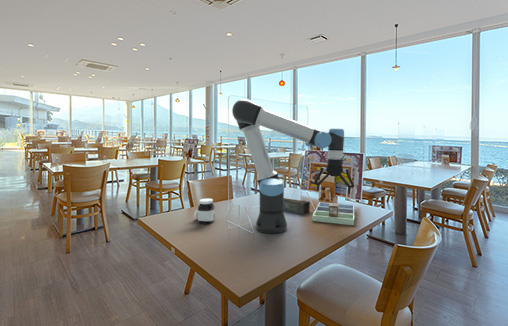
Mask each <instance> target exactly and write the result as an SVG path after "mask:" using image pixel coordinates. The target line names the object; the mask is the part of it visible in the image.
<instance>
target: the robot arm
mask: <svg viewBox="0 0 508 326" xmlns="http://www.w3.org/2000/svg"><path fill="white" fill-rule="evenodd" d="M231 112H232V113H231V114H232V117H233V118H234V119H235V121H236V124H237V126H238V129H239V131H241V132H242V133H244V138H245V140H246V143H247V146H248V151H249V152H250V155H251V158H252V162H253V164H254V167H255V170H256V173H257V177H256V181H257V186H258V188H259V212H258V216H257V219H256V222H255V229H256V230H257V231H258V232H260V233H263V234H264V233H265V234H281V233H285V232H286V231H287V230H288V223H287V220H286V216H285V210H284V198H285V197H284V195H285V193H284V192H285V185H284V182H283V180H281V179H280V177H279V173H278V172H277V171H276V170H274V168H273V165H272V162H271V159H270V155H269V153H268V150H267V147H266V144H265V140H264V137H263V135H262V134H263V133H262V132H261V128H260V126H261V127H264V128H265V129H266V128H267V129H269V130H272V131H275V132H276V133H280V134H282V135H285V136H288V137H291V138H292V139H295V140H299V141H301V142H303V143H304V145H305V146H306V147H311V148H312V147H313V148H314V147H316V148H319V149H325V148H328V149H327V164H326V167H324V166H321V168H320V171H319V173H318V175H317V177H316V178H315V180H314V181H313V184H314V185H316V191H317V192H318V198H319V199H320V198H321V196H322V185H321V184H322V183H323V182H324V181H325V180H326V179H327V178H329V176H330V177H336V178H338V177H339V178H340V179H341V181H342V182H343V183H344V184H345V186H347V187H346V193H345V201H346V202H347V201H348V196H349V195H350V194H351V190H352V189H351V188H355V184H354V181H353V179H352V177H351V174H350V172H349V170H350V169H349V168H343V158H344V143H345V130H344V129H343V128H328V129H329V130H328V131H322V130H319V129H318V128H317V129H316V128H315V127H311V126H309V125H306V124H304V123H301V122H299V121H295V120H293V119H290V118H287V117H285V116H282V115H279V114H277V113H274V112H271V111H269V110H266V109H265V108H264V107H263V106H262V105H259V104H257V103H255V102H253V101H251V100H250V99H247V98H242V99H238V100H237V101H236V102H235V103H234V104H233V106H232V111H231ZM325 171H326V172H327V174H325V175H324V176H323V177H322V179H320V177H321V176H322V174H323V173H324V172H325ZM343 172H344V173H345V174H346V176H347V179H348V181H349V182H348V181H347V179H346V178H345V177H344V175H343V174H342V173H343Z"/></svg>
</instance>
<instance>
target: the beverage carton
mask: <svg viewBox="0 0 508 326" xmlns="http://www.w3.org/2000/svg"><path fill="white" fill-rule="evenodd" d="M310 205H311V203H310V201H307V200H301V199H293V198H286V197H284V212H285V211H287V212H290V213H291V212H293V213H297V214H301V215H302V214H303V215H305V214H307V213H308V212H310V211H311V210H310V209H311V207H310Z"/></svg>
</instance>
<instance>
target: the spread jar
mask: <svg viewBox="0 0 508 326" xmlns="http://www.w3.org/2000/svg"><path fill="white" fill-rule="evenodd" d="M213 202H214V199H213V198H209V197H208V198H201V199H199V204H198V206H197V208H196V210H195V211H194V214H193V215H194V218H196V219H197V221H198V222H199V223H200V224H203V223H208V224H212V223H213V222H214V221H215V219H216V210H215V209H216V208H215V207H216V206H215V204H214V203H213ZM211 222H212V223H211Z"/></svg>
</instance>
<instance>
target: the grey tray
mask: <svg viewBox="0 0 508 326" xmlns="http://www.w3.org/2000/svg"><path fill="white" fill-rule="evenodd" d="M329 204H334V203H330V202H321V201H319V202H318V204H317V206H319V207H329ZM338 204H339V206H338V208H342V209H354V210H355V205H354V204H344V203H338Z"/></svg>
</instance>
